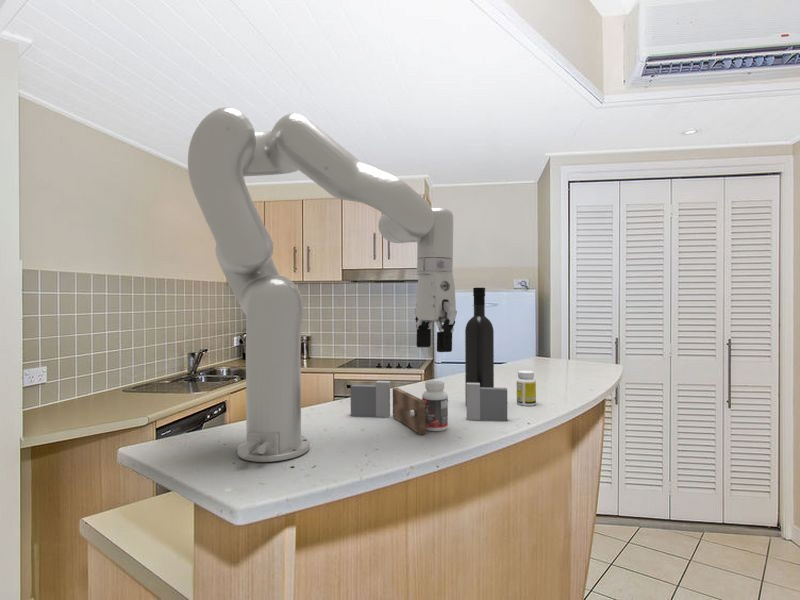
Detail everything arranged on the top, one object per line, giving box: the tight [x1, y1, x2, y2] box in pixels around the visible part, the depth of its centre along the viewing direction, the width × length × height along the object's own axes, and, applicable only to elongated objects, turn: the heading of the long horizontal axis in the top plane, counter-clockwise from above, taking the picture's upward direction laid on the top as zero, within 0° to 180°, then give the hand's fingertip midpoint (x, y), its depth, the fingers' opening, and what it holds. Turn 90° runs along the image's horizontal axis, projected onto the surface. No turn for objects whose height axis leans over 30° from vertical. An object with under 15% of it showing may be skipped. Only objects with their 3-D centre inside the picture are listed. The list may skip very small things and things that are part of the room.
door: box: [392, 387, 426, 435], centre depth 97 cm, size 15×2×6 cm, turn 22°
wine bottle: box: [464, 287, 495, 400], centre depth 114 cm, size 6×6×30 cm
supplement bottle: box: [516, 369, 537, 407], centre depth 117 cm, size 5×5×8 cm
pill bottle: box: [421, 379, 449, 432], centre depth 95 cm, size 5×5×10 cm
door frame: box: [350, 380, 508, 422], centre depth 104 cm, size 2×36×8 cm, turn 82°
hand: (433, 349), depth 95 cm, fingers open, 9 cm apart
